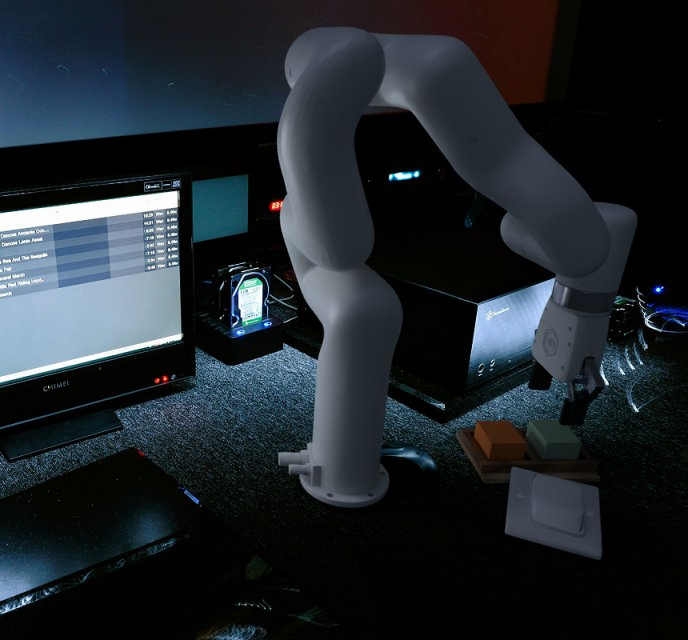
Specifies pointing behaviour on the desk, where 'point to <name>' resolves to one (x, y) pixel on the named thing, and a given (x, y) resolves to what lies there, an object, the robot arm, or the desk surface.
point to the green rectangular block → (553, 440)
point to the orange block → (499, 440)
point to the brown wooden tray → (527, 462)
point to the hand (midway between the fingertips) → (553, 406)
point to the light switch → (554, 512)
